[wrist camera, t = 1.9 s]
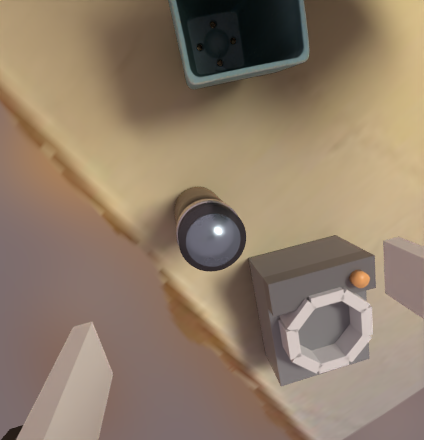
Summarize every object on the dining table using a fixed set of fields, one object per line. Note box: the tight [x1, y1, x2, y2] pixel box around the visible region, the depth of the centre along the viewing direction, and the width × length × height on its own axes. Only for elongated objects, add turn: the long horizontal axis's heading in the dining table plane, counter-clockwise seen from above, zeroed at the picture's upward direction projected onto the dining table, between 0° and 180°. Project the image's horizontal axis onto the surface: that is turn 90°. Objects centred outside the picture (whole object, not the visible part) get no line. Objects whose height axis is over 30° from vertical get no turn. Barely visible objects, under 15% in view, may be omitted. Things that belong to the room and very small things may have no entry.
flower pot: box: [168, 0, 310, 89], centre depth 22 cm, size 9×9×9 cm
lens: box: [174, 187, 246, 271], centre depth 25 cm, size 5×5×10 cm
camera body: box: [248, 235, 376, 386], centre depth 31 cm, size 14×11×7 cm
